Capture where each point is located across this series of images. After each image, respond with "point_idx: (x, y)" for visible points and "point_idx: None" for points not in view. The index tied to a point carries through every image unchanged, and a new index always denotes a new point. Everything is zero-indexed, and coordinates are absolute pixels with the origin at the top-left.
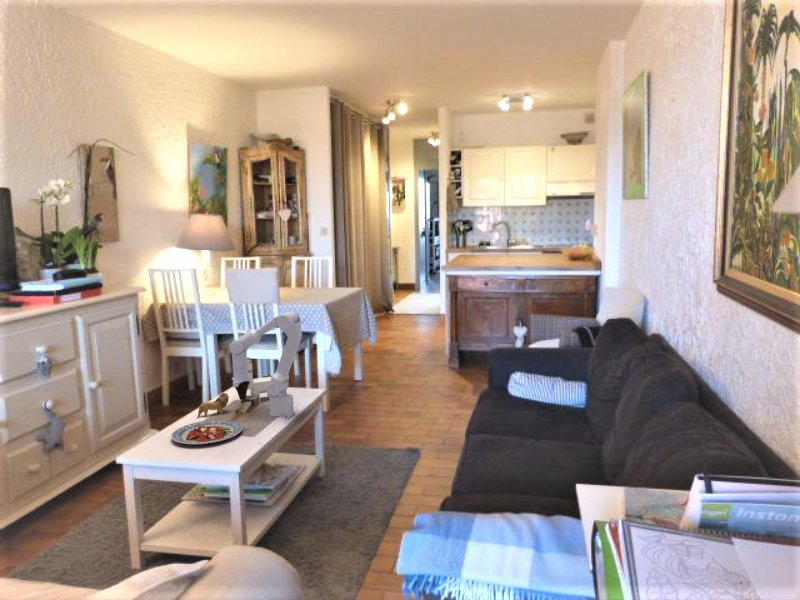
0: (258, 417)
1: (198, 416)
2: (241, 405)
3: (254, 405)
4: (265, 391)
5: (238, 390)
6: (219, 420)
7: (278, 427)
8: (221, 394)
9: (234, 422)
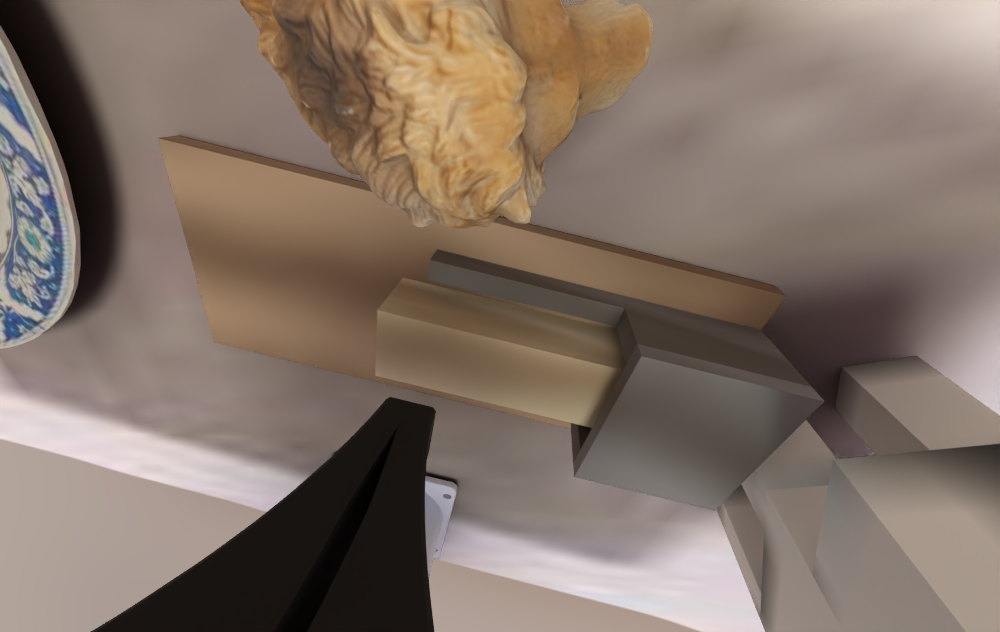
0: (352, 410)
1: None
2: (464, 342)
3: None
4: (768, 580)
5: (273, 551)
6: (13, 112)
7: (192, 484)
8: (329, 22)
9: (48, 287)
